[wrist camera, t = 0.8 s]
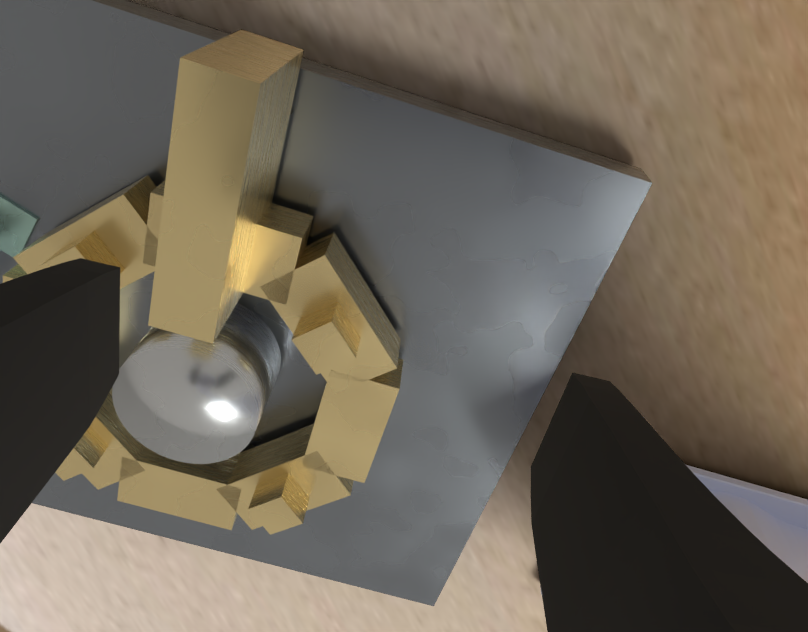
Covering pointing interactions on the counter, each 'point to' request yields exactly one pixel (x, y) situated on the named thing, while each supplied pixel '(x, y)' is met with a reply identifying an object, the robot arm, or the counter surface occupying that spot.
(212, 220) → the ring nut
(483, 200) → the dark gray base plate
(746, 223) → the counter surface
